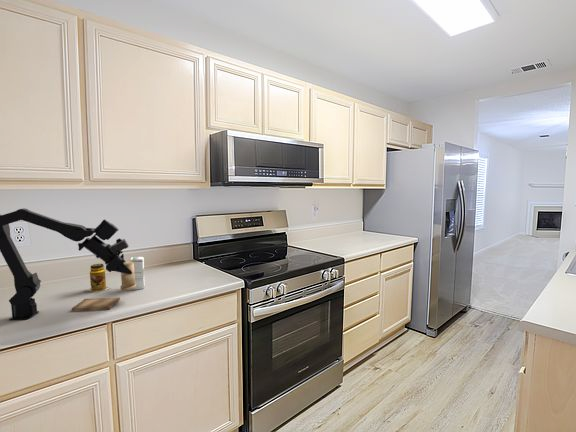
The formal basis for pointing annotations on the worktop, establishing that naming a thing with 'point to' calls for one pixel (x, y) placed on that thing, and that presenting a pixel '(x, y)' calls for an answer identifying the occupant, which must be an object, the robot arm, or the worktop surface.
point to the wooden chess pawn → (128, 278)
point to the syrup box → (138, 272)
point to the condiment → (97, 278)
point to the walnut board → (96, 304)
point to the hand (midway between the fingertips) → (131, 271)
